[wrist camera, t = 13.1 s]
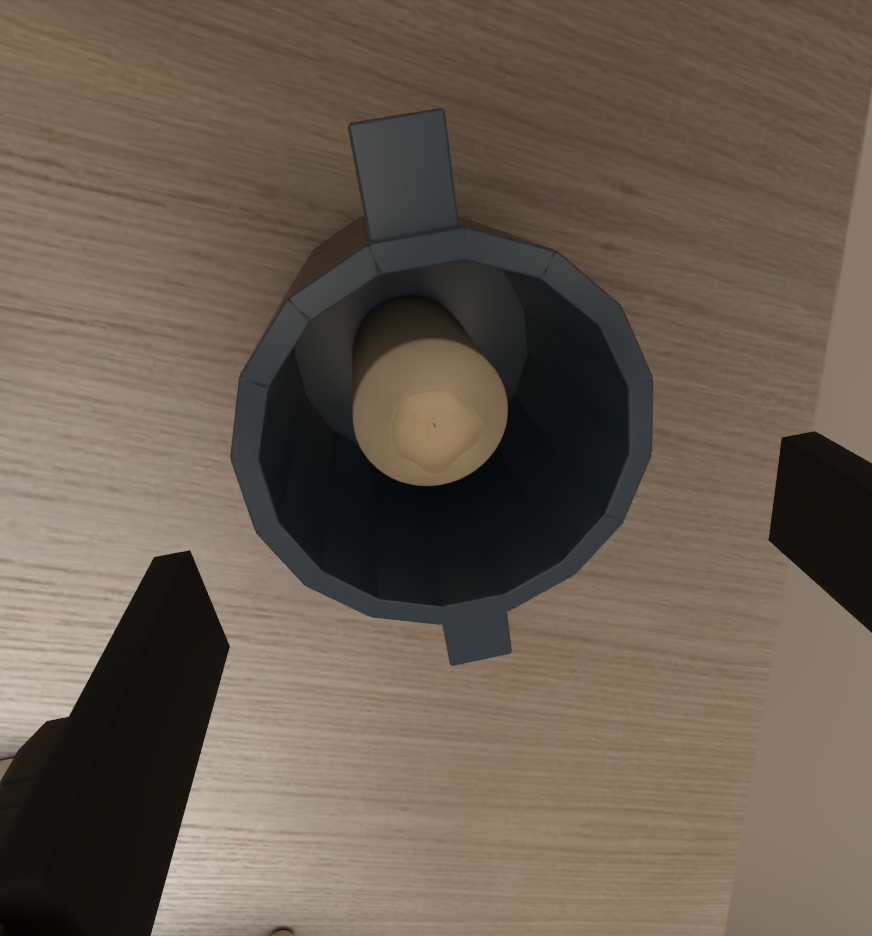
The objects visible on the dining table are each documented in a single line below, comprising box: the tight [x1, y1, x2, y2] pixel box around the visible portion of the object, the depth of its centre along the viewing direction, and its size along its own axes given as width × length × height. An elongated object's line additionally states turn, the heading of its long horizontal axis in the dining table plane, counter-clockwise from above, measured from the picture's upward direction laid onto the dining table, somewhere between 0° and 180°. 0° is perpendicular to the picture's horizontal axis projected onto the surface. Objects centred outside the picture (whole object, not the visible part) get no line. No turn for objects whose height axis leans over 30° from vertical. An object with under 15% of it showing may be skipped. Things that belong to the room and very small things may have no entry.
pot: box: [230, 108, 653, 666], centre depth 23 cm, size 13×18×12 cm
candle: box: [352, 296, 508, 486], centre depth 24 cm, size 6×6×10 cm
